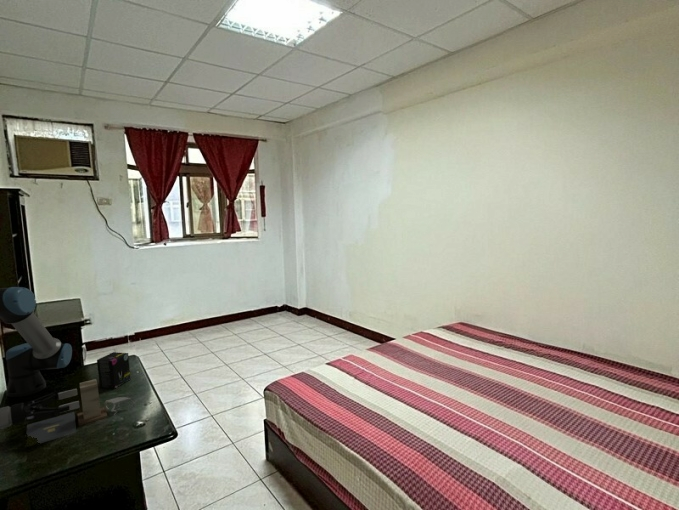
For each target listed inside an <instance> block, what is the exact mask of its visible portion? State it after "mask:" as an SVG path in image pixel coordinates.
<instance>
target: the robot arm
mask: <svg viewBox="0 0 679 510" xmlns="http://www.w3.org/2000/svg"><path fill="white" fill-rule="evenodd" d="M36 305H37V300H36V296H35V294H34V292H33V291H31V289H29V288H26V287H23V286H19V287H18V286H11V287H0V320H2V322H4V324H7V325H8V324H9V325H12V327H13V328H14V329H15V330H16V332H18V333H19V335H20V336H21V337H22V338H23V339H24V340H25V342H26V343H22V344H19V345H15V346H12V347H11V348H9V349H7V350H6V352H5V361H6V365H7V367H6V368H7V373H8V382H7V387H6V390H5V394H6V397H7V396H9V397H20V398H23V397H22V396H25V397H28V395H29V396H32V395H34V394H37V393H39V392H41V391H43V390H45V388H46V387H47V383H46V380H45V378H44V377H43V375H42V373H41V371H43V370H55V369H58V370H59V369H62V368H66V367H68V365H69V364H70V362H71V360H72V357H73V356H72V355H73V348H72V345H71V344H70V343H68V342H67V343H66V342H65V343H62V342H61V340H60V339H58V338H55V337H53V335H51V334H50V332H49V331H48V329H47V328H46V326H45V325H44V324H43V322H41V319H39V318H38V316H37V315H36V314H35V312H34V311H35V308H36ZM40 370H41V371H40ZM78 394H79V393H78V389H77V388H73V389H70V390H65V391H61V392H58V391H57V390H55V391H53V392H51V393H48V394H46V395H43V396H41V397H38V398H36V399H33V400H29V401H28V402H27V405H25V403H24V402H19V403H15V404H12V405H11V406H9V405H7V406H4V407H0V430H4V429H5V428H8V427H11V426H17V425H19V424H23V423H25V422H26V421H27V422H31V421H35V420H43V419H44V420H46V419H50V418H54V417H58V416H61V414H62V413H66V412H69V411H72V410H73V411H74V410H76V409H80V406H81V405H80V401H79V400H77V401H76V400H75V401H71V402H69V403H65V404H61V405H59V406H58V407H46V406H48V405H50V404H51V403H53V402H55V401H58V400H59V401H60V400H64V399H67V398H72V397H75V396H78Z"/></svg>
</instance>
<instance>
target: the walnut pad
mask: <svg viewBox="0 0 679 510" xmlns="http://www.w3.org/2000/svg"><path fill="white" fill-rule="evenodd" d="M106 409H107V408H106V407H105V405H104V406H100V411H101V415H99V416H96V417H93V418H89V419H86V420H84V416H83V411H82V412H78V413H77V421H78V426H79V427H80V426H83V425H87V424H90V423H94V422H98V421H99V420H103V419H107V418H108V414H107V410H106Z"/></svg>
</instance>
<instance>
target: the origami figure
mask: <svg viewBox="0 0 679 510" xmlns="http://www.w3.org/2000/svg"><path fill="white" fill-rule="evenodd" d="M126 401H131V402H132V404H131V406H129V409H130V410H132V409H133V408H132V407H133V406H134V405H136V402H135V401H134V400H133V399H132V398H131V397H125V396H122V397H121V396H120V397H117V396H116V397H114V398H111V399H107V400H105V403H104V406H105V409H107V411H109V410H110V408H109V407H108V405H107V404H108V403H109V404H112V405H113V406H112V408H111V410H110V411H111V412H113V413H114V414H113V416H115V415H117V413H118V411H117V410H116V409H115V408H116V406H117V408H120V404H121V403H124V402H126Z"/></svg>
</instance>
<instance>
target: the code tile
mask: <svg viewBox="0 0 679 510" xmlns="http://www.w3.org/2000/svg"><path fill="white" fill-rule="evenodd" d="M76 424H77V423H76V415H75V411H72V412H68V413H65V414H60V416H58V417H54V418H45V419H44V420H43V419H42V420H39V421H37V422H32V423H29V424H27V425H26V433H25V435H26V434H27V435H28V436H31V437H32V438H33V437H34V438H37V440H38V441H37V442H38V443H40V444H45V443H47V442H51V441H53V440H57V439H59V438H63V437H66V436H71V435H73V434H77V426H76ZM40 444H39V445H40Z"/></svg>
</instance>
